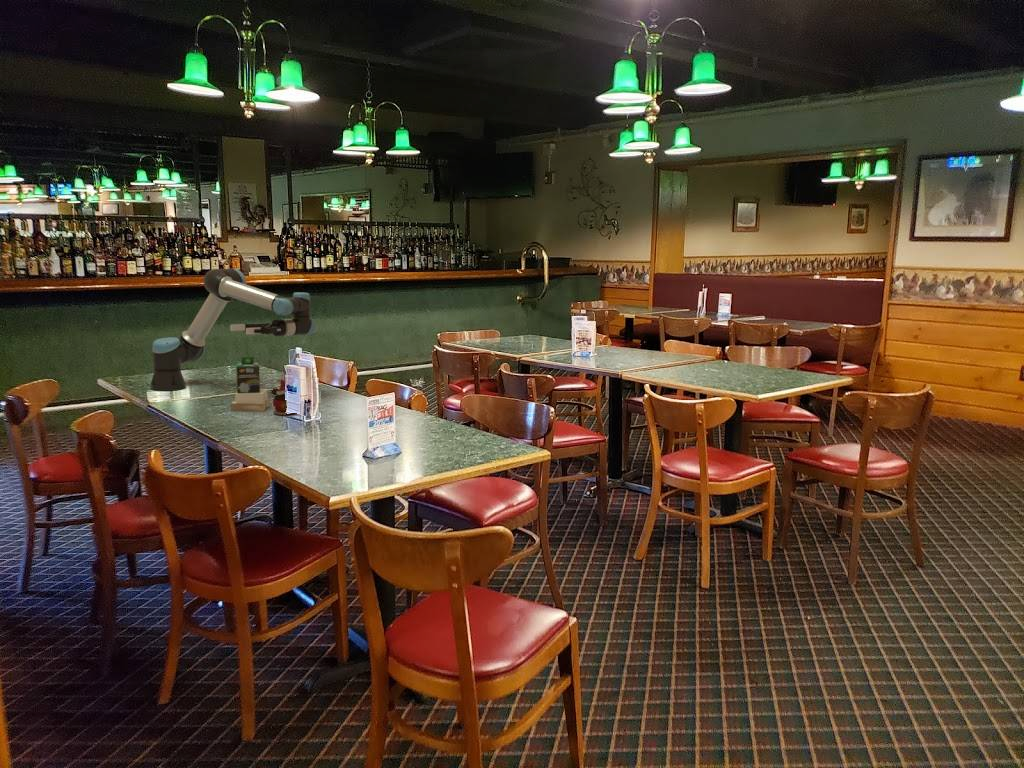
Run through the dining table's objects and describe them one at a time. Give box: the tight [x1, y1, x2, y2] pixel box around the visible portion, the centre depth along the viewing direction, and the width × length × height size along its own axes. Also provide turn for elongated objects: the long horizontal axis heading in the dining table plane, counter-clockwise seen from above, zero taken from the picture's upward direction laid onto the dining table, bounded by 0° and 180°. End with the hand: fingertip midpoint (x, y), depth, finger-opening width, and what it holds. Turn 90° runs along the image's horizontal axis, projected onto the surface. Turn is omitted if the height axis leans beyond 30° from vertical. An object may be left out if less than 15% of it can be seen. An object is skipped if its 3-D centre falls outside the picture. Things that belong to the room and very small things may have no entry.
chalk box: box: [235, 356, 261, 393], centre depth 311 cm, size 9×9×15 cm
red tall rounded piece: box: [270, 369, 287, 416], centre depth 304 cm, size 11×9×18 cm
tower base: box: [230, 397, 271, 412], centre depth 313 cm, size 13×13×4 cm
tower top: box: [234, 388, 268, 403], centre depth 313 cm, size 11×11×4 cm
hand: (238, 329), depth 318 cm, fingers open, 13 cm apart
